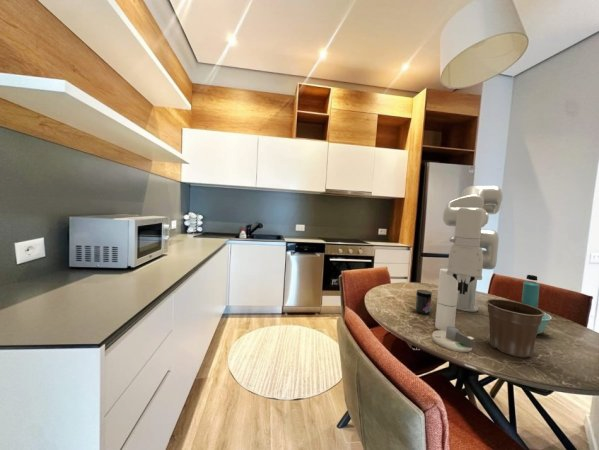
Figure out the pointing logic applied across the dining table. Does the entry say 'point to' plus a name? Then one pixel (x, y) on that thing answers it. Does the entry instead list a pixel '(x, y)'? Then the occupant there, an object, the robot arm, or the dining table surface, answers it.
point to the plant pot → (513, 326)
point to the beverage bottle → (530, 292)
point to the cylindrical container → (446, 301)
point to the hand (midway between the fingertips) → (462, 293)
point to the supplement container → (423, 302)
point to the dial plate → (449, 342)
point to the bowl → (544, 323)
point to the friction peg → (459, 336)
